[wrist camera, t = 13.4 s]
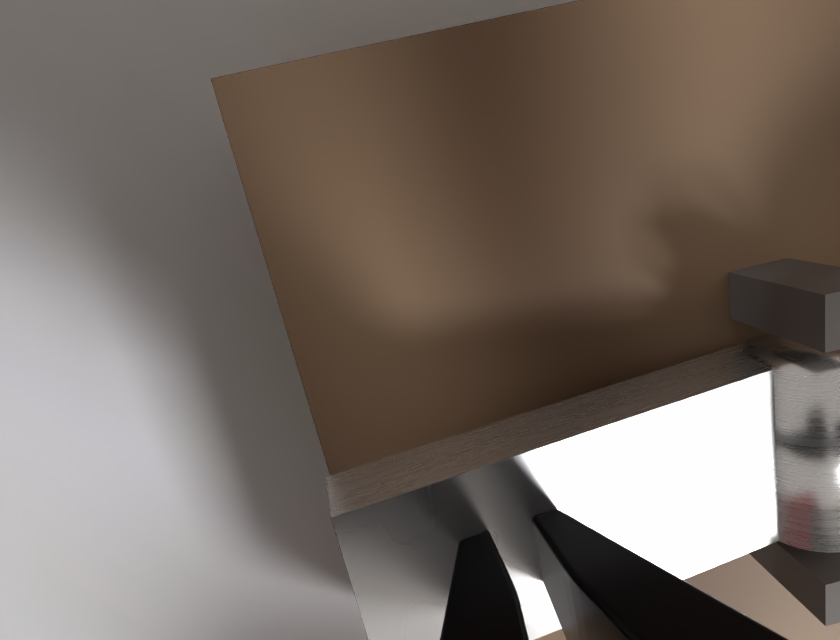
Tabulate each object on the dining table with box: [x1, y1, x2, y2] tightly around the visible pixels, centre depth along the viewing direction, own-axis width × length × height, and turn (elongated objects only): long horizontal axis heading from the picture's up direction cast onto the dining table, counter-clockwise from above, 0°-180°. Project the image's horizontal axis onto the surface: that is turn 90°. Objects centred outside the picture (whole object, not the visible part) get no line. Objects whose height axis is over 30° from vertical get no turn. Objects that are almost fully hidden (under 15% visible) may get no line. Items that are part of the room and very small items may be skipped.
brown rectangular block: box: [211, 0, 840, 640], centre depth 11 cm, size 18×14×7 cm
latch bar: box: [326, 334, 840, 640], centre depth 8 cm, size 8×3×2 cm, turn 102°
